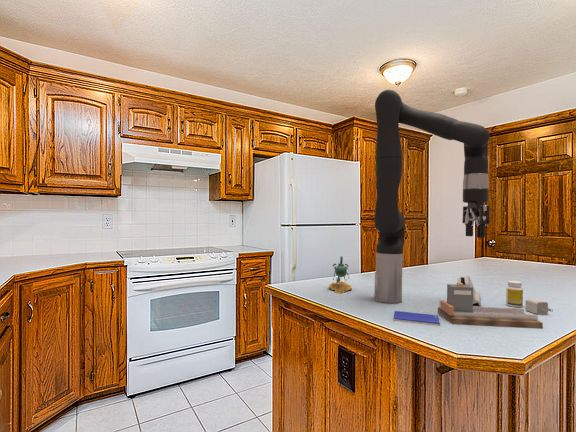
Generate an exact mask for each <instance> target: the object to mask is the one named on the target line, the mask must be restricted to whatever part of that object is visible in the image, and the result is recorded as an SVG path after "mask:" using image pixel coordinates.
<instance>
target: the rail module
mask: <svg viewBox="0 0 576 432" xmlns="http://www.w3.org/2000/svg"><path fill="white" fill-rule="evenodd" d="M473 287H474V286H473ZM473 287H471V286H469V285H463V283H458V282H456V284H453V283H449V284H448V283H447V284H446V302H447V303H449V304H450V305H452V306H453V307H454V311H463V312H473V306H474V304H473Z"/></svg>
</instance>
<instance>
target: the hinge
mask: <svg viewBox="0 0 576 432" xmlns="http://www.w3.org/2000/svg"><path fill="white" fill-rule="evenodd" d="M457 283H463V285H469V286H471V287H473V305H474V304H478V307H482V296H481V294H480V292H478V291H477V290H475V287H474V284H473V282H472V279H471V277H470V276H469V275H464V276H460V277H458V278H457Z"/></svg>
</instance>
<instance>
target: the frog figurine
mask: <svg viewBox="0 0 576 432" xmlns="http://www.w3.org/2000/svg"><path fill="white" fill-rule="evenodd" d="M339 258H340V259H339V263H337V264H338V265H337V264H336V263H333V264H332V267H333V269H334V273H333V274H334V275H333V278H332V280H333V282H331V283H330V284H329V286H328V288H329V289H330V290H331V291H334V293H335V294H343V293H347V292H348V291H350V290H353V288H352V285H351V284H349V283H347V278H348V279H350V275H349V274H348V272H347V270H348V269H349V264H348V263H345V264H344V263H343V262H344V261H343V260H344V259H343V258H344V257H343V256H340V257H339ZM335 275H336V276H337V277H335ZM346 276H347V278H346ZM341 278H344V281H342V280H341ZM335 279H336V282H334V280H335Z"/></svg>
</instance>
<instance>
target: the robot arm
mask: <svg viewBox="0 0 576 432" xmlns="http://www.w3.org/2000/svg"><path fill="white" fill-rule="evenodd" d="M374 109H375V119H376V128H377V132H376V142H375V143H376V145H375V146H376V147H375V177H376V178H375V184H376V185H375V186H376V200H375V202H376V203H375V212H374V225H375V228H376V229H377V231H378V232H379V234H378V237H379V238H378V241H377V244H376V247H375V249H376V250H375V251H376V253H375V254H376V255H375V272H374V299H375V300H376V302H380V303H386V304H398V303H402V302H403V259H404V257H403V253H404V252H403V251H404V246H405V233H406V232H405V231H406V221H405V216H404V215H403V213H402V212H400V210H399V204H398V193H399V188H400V184H401V180H402V176H403V175H402V174H403V151H402V142H401V136H400V129H399V127H400V126H399V125H400V124H401V125H402V124H403V125H406V126H409V127H412V128H416V129H418V130H421V131H423V132H427V133H429V134H431V135H434V136H436V137H439V138H441V139H445V140H448V141H456V142H458V143H462V144H463V152H464V153H463V155H464V162H463V179H462V202H463V203H465V204H467V206H465V205H464V206H462V224H464V225H465V236H466V237H473V236H474V223H475V224H476V238H477V239H484V238H485V237H486V226H487V225H489V224H490V205H489V204H484V203H488V202H490V201H489V200H490V199H489V198H490V196H489V195H490V194H489V190H490V186H489V185H490V181H489V180H490V179H489V159H488V158H487V155H488V152H487V151H488V150H487V149H488V148H487V147H488V142H489V141H490V137H491V136H490V135H491V134H490V132H489V130H488V129H487V127H484V126H483V125H480V124H477V123H472V122H467V121H463V120H462V121H461V120H459V119H455V118H453V117H451V116H448V115H445V114H442V113H438V112H435V111H433V112H432V111H426V110H421V109H417V108H415V107H412V106H410V105H408V104H406V103H405V102H402V97H401V96H400V94H398V92H397V91H395V90H393V89H385V90H383V91H381V92H380V93H379V94H378V95H377V97H376V98H375V101H374Z"/></svg>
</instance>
